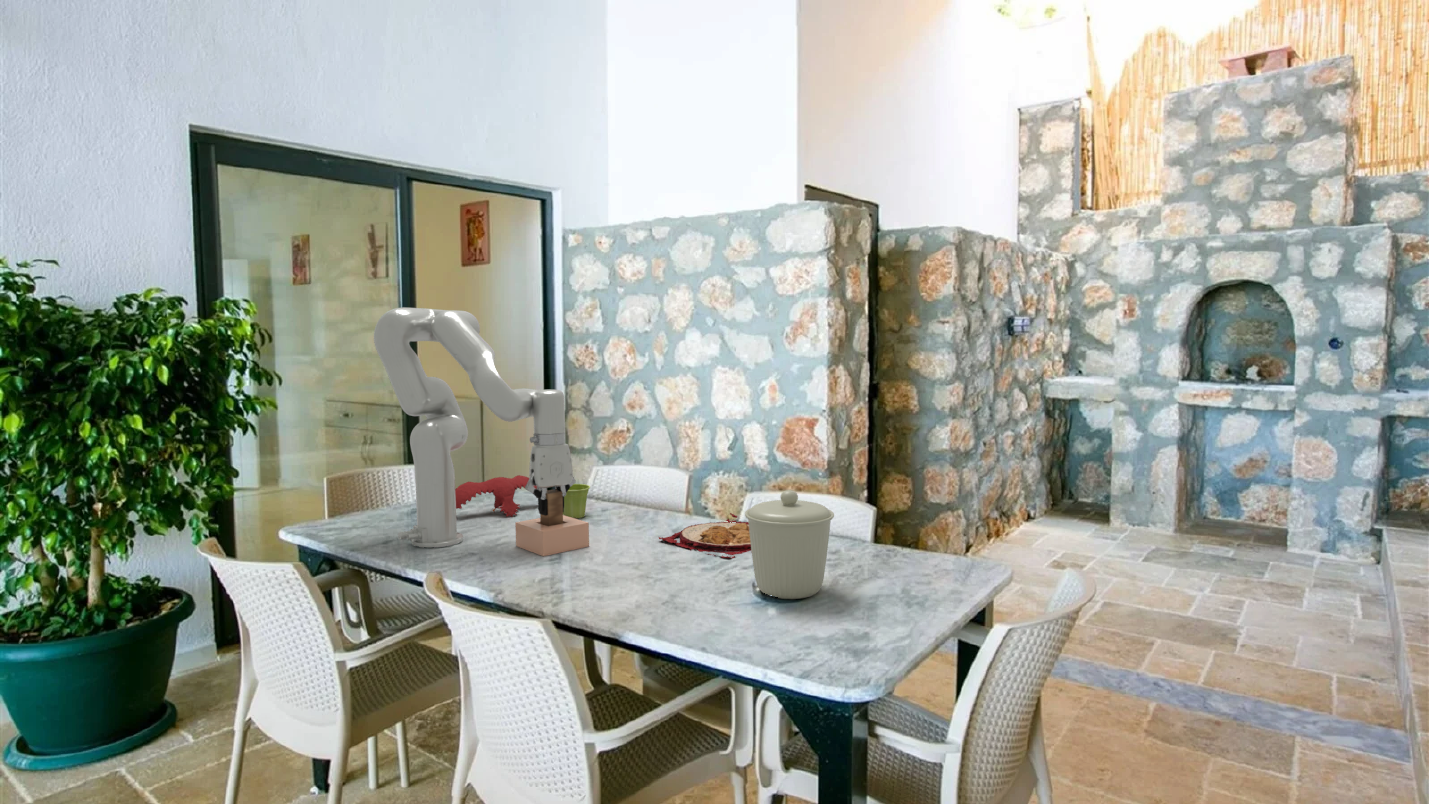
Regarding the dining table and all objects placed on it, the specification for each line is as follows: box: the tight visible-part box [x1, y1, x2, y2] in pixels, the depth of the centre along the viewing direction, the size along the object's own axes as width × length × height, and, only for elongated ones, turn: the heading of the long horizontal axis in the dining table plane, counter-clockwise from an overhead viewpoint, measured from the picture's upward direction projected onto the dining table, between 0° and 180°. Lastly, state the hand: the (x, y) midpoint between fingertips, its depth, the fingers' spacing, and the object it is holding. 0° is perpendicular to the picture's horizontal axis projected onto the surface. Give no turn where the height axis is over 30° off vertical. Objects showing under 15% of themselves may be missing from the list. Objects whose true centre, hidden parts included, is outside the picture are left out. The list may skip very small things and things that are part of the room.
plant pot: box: [563, 483, 591, 519], centre depth 242 cm, size 9×9×9 cm
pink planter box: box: [515, 515, 590, 557], centre depth 210 cm, size 13×13×6 cm
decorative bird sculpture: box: [455, 474, 537, 518], centre depth 247 cm, size 28×9×15 cm
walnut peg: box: [539, 489, 563, 526], centre depth 209 cm, size 4×4×12 cm
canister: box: [744, 489, 835, 600], centre depth 172 cm, size 18×18×21 cm
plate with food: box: [658, 512, 752, 560], centre depth 215 cm, size 25×26×4 cm
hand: (551, 512), depth 209 cm, fingers closed on walnut peg, 3 cm apart
